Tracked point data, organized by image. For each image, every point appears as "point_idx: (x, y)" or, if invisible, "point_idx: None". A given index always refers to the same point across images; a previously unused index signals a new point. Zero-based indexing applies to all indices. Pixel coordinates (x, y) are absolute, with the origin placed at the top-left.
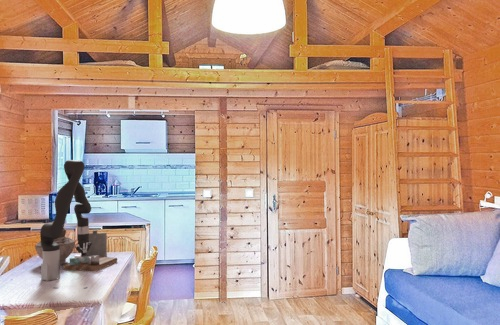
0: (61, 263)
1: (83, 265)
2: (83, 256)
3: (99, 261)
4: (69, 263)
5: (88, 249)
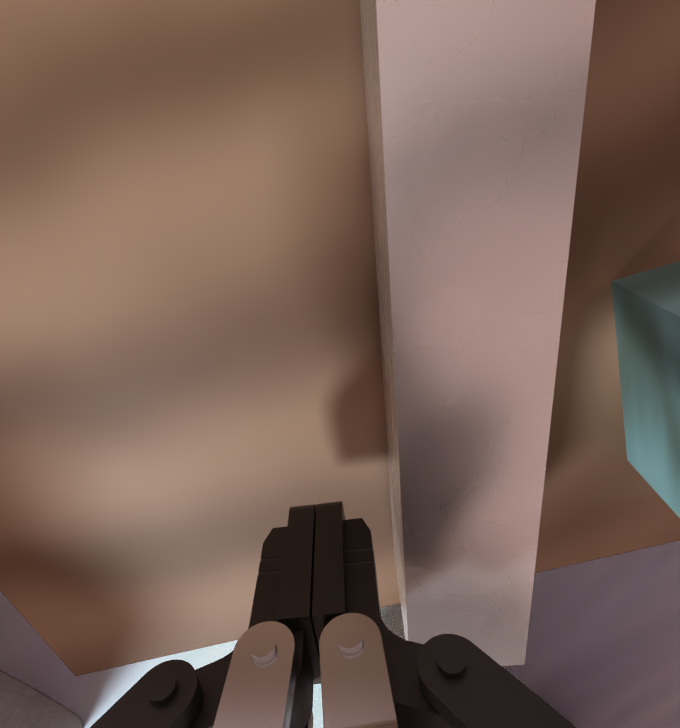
0: None
1: (660, 97)
2: (495, 423)
3: (122, 94)
4: (595, 532)
5: (130, 711)
